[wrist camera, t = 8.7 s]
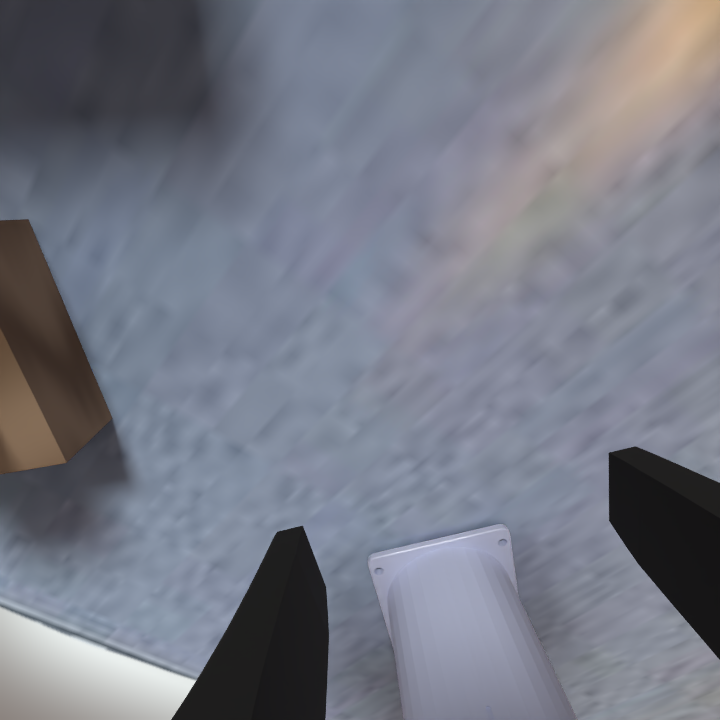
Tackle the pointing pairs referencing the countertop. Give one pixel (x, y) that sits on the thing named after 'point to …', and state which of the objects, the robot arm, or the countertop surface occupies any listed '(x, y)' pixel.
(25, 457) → the walnut block
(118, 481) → the countertop surface
